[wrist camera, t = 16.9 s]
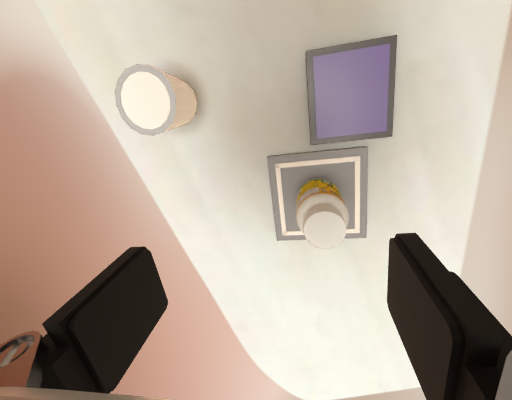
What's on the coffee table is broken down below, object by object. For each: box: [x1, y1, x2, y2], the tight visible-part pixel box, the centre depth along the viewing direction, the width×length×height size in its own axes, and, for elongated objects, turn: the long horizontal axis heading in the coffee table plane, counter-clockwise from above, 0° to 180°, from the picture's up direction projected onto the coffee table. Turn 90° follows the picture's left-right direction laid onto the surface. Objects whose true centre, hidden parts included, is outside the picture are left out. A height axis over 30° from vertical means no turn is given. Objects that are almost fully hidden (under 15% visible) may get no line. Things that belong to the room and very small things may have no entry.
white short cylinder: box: [115, 64, 197, 136], centre depth 29 cm, size 7×7×7 cm
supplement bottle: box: [296, 178, 349, 249], centre depth 28 cm, size 5×5×10 cm
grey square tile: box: [267, 146, 368, 241], centre depth 33 cm, size 12×12×1 cm
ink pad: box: [306, 35, 397, 145], centre depth 28 cm, size 10×9×1 cm
